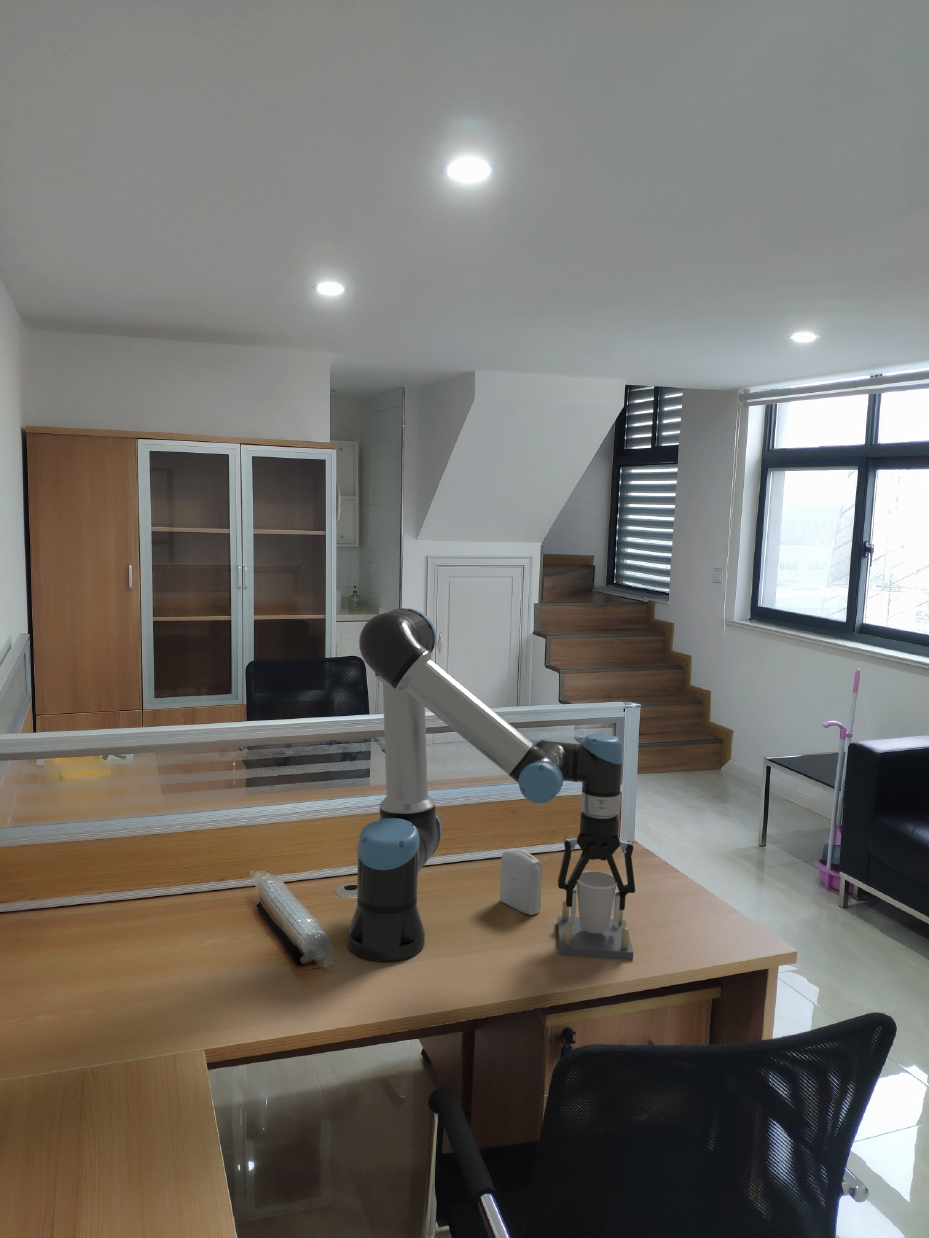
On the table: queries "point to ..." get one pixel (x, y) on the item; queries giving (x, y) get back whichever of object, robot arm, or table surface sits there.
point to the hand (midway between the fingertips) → (594, 922)
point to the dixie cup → (595, 900)
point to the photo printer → (521, 881)
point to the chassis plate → (593, 939)
